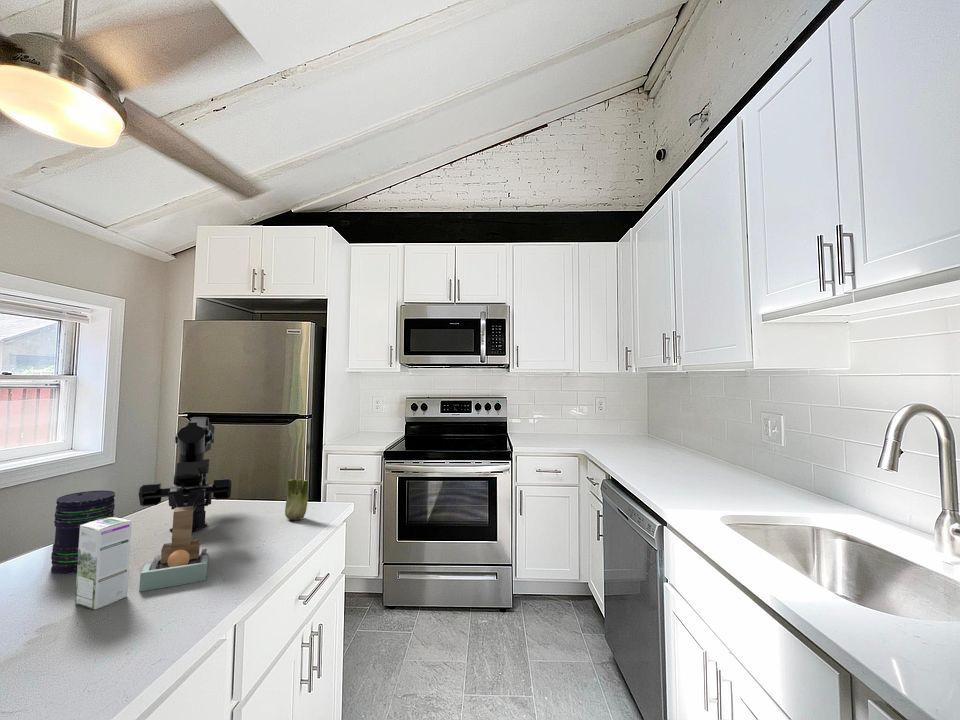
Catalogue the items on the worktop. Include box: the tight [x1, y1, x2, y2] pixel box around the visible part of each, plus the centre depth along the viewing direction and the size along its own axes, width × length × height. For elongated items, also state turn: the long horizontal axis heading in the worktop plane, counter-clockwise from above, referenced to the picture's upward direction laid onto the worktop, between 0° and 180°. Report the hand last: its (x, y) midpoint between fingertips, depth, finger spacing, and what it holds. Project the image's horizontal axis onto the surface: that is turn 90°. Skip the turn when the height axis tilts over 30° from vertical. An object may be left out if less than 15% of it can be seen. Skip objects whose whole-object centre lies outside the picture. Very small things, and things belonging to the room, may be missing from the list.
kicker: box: [160, 506, 201, 565], centre depth 99 cm, size 4×7×11 cm, turn 120°
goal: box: [138, 554, 209, 593], centre depth 90 cm, size 6×11×4 cm, turn 120°
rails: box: [151, 548, 208, 570], centre depth 98 cm, size 8×10×1 cm
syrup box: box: [74, 516, 133, 611], centre depth 81 cm, size 6×6×14 cm
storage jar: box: [50, 490, 116, 575], centre depth 96 cm, size 10×10×15 cm
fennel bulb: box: [284, 478, 309, 521], centre depth 130 cm, size 6×5×12 cm
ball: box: [166, 550, 191, 568], centre depth 95 cm, size 4×4×4 cm
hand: (183, 523), depth 102 cm, fingers closed
